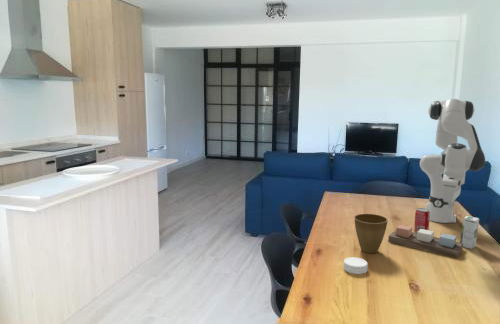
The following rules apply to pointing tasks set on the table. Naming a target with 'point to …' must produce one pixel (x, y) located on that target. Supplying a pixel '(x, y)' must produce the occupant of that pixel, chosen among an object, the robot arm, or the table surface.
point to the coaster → (355, 265)
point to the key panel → (426, 244)
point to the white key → (425, 235)
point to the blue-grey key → (447, 240)
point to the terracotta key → (404, 231)
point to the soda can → (421, 219)
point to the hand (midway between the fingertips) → (450, 207)
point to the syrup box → (469, 231)
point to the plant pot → (370, 231)
